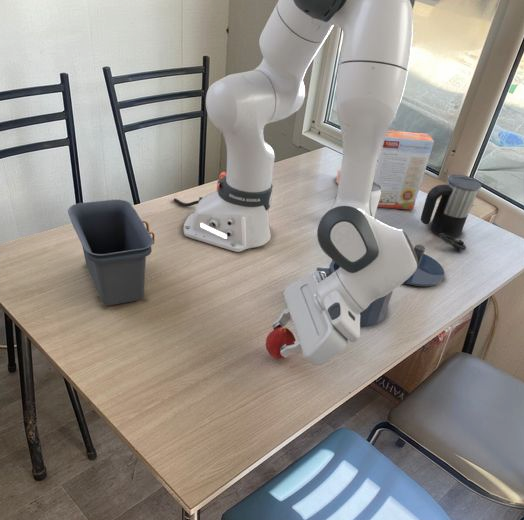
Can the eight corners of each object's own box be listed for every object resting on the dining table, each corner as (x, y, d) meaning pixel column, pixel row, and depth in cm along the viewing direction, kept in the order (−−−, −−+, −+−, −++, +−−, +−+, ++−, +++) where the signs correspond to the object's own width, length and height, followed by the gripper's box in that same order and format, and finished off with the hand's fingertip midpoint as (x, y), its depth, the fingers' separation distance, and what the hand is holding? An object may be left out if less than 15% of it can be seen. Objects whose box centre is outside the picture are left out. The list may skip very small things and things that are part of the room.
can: (370, 233, 146) (382, 193, 138) (347, 229, 147) (357, 188, 139) (371, 223, 151) (383, 183, 143) (349, 218, 151) (359, 178, 143)
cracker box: (408, 201, 164) (430, 133, 150) (412, 211, 159) (435, 141, 145) (363, 197, 163) (381, 127, 149) (367, 206, 158) (385, 136, 144)
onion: (260, 349, 106) (264, 318, 101) (287, 346, 108) (292, 315, 103) (268, 369, 102) (273, 337, 97) (296, 365, 104) (303, 334, 99)
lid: (375, 251, 140) (382, 228, 135) (432, 255, 141) (441, 233, 137) (388, 286, 128) (396, 262, 124) (450, 290, 130) (460, 267, 125)
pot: (307, 284, 125) (314, 249, 119) (388, 289, 127) (400, 255, 121) (314, 323, 114) (322, 287, 108) (403, 329, 116) (416, 294, 110)
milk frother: (445, 219, 158) (463, 171, 148) (486, 246, 148) (508, 197, 138) (410, 228, 151) (427, 179, 141) (451, 257, 142) (472, 206, 132)
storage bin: (72, 261, 121) (63, 203, 112) (139, 250, 127) (136, 195, 118) (95, 317, 108) (87, 257, 98) (168, 302, 114) (168, 244, 104)
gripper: (314, 257, 103) (258, 298, 107) (343, 325, 88) (278, 370, 93) (331, 276, 107) (277, 315, 111) (362, 344, 92) (299, 386, 97)
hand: (278, 341), depth 102 cm, fingers closed on onion, 6 cm apart
